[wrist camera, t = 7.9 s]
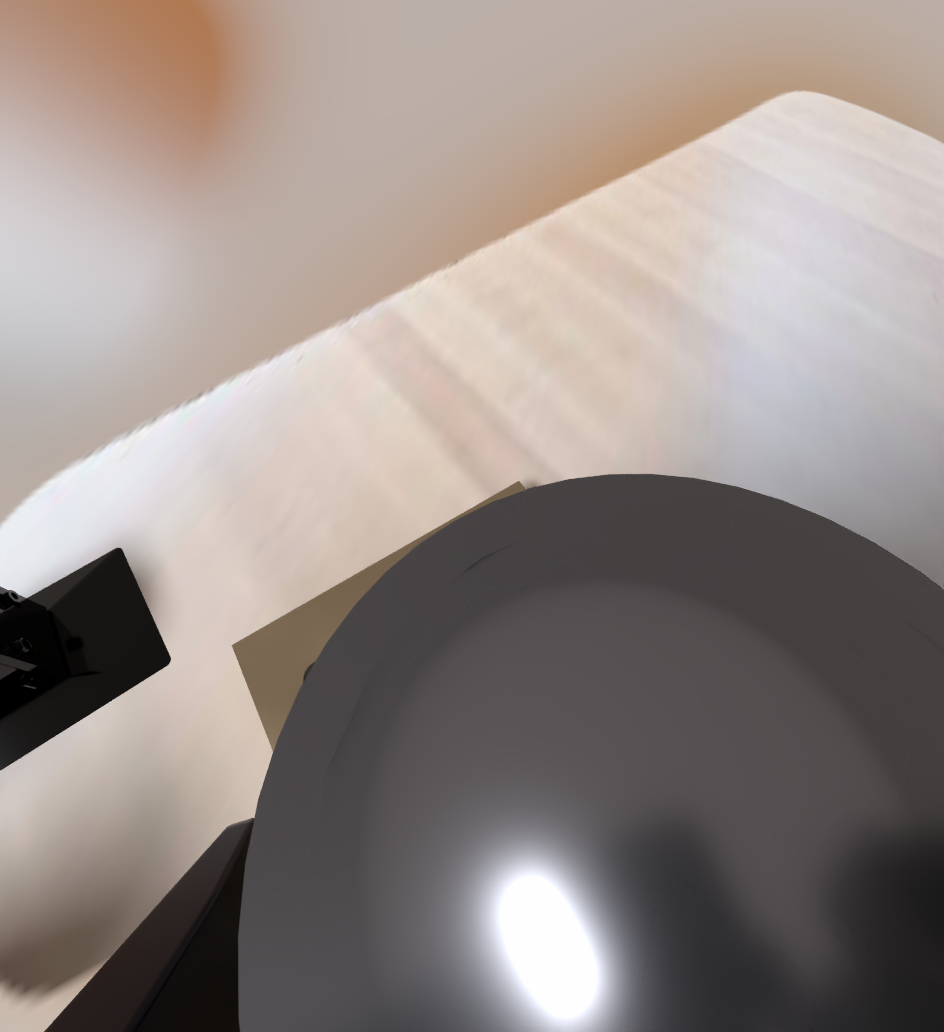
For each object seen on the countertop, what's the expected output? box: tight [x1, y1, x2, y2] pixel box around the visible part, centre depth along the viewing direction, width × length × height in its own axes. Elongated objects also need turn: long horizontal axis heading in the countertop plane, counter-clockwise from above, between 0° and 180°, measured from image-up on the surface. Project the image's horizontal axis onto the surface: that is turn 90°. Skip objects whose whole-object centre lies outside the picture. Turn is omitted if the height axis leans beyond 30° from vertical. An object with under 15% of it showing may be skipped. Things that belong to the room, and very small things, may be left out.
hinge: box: [232, 481, 526, 752], centre depth 13 cm, size 18×11×2 cm, turn 32°
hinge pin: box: [238, 474, 944, 1032], centre depth 9 cm, size 5×5×13 cm
